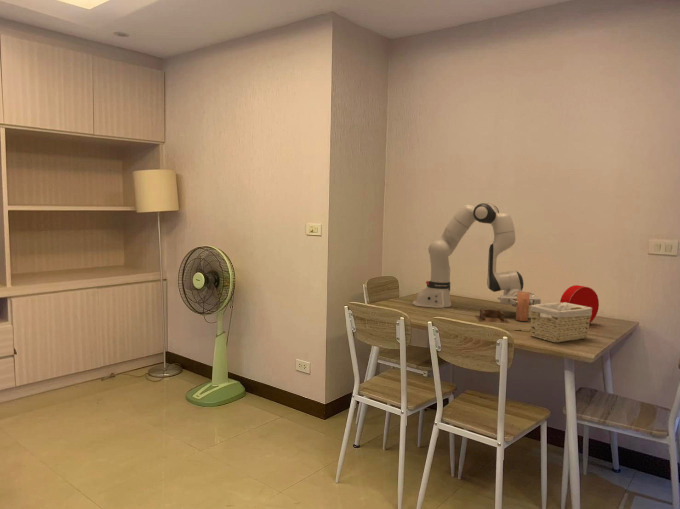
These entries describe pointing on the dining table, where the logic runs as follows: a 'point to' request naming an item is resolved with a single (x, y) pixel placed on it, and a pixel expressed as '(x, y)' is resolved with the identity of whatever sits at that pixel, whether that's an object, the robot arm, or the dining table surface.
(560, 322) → the storage basket
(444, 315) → the dining table surface
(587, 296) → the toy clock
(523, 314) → the orange rectangular block
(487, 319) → the walnut stand
